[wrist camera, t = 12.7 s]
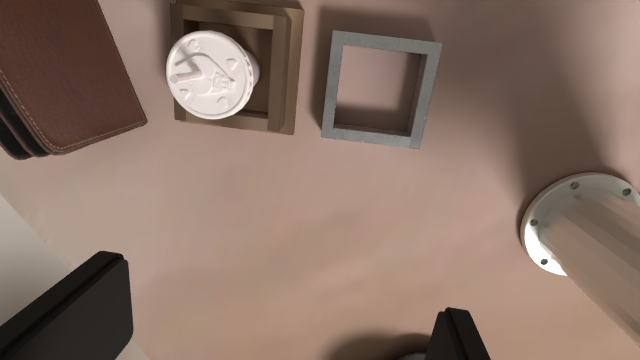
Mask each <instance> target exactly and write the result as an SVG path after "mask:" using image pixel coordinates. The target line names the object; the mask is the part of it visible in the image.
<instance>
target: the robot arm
mask: <svg viewBox="0 0 640 360" xmlns="http://www.w3.org/2000/svg"><path fill="white" fill-rule="evenodd" d="M520 238H521V242H522V246H523V248H524V250H525V252H526V253H527V255H528V256H529V257H530V258H531V259H532V261H533V262H534V263H536V264H537V265H538V266H539V267H541V268H542V269H544V270H546V271H548V272H551V273H554V274H558V275H566V276H568V277H569V278H570V279H571V280H572V281H573V282H574V283H575V284H576V285H577V286H578V287H579V288H580V289H581V290H582V291H583V292H584V293H585V294H586V295H587V296H588V297H589V298H590V299H591V300H593V301H594V302H595V303H596V304H597V305H598V306H599V307H600V308H601V309H602V310H603V311H604V312H605V313H606V314H607V315H608V316H609V317H610V318H611V319H612V320H613V321H614V322H615V323H616V324H617V325H618V326H619V327H620V328H621V329H622V330H623V331H624V332H625V333H626V334H627V335H628V336H629V337H630V338H631V339H632V340H633V341H634V342H635V343H636V344H637V345H638V346H639V347H640V194H639V193H638V192H637V190H636V189H635V188H634V187H633V186H631V185H630V184H629V183H627V182H626V181H624V180H622V179H620V178H618V177H615V176H612V175H609V174H606V173H598V172H588V173H580V174H575V175H571V176H568V177H566V178H563V179H560V180H558V181H557V182H555V183H553V184H551V185H550V186H548V187H547V188H546V189H544V190H543V191H542V192H541V193H539V194H538V196H537V197H536V198H535V199H534V200H533V201H532V202H531V204H530V205H529V207H528V208H527V210H526V212H525V214H524V217H523V219H522V223H521V228H520ZM132 334H133V318H132V305H131V293H130V281H129V268H128V262H127V260H125V259H124V257H123V255H122V254H119V253H113V252H107V251H99V252H98V253H96V254H95V255H93V256H92V257H91V258H90V259H88V260H87V261H86V262H84V263H83V264H82V265H80V266H79V267H78V268H76V269H75V270H74V271H72V272H71V273H70V274H69V275H67V276H66V277H65V278H64V279H62V280H61V281H59V282H58V283H57V284H55V285H54V286H53V287H51V288H50V289H49V290H48V291H46V292H45V293H44V294H42V295H41V296H40V297H38V298H37V299H36V300H34V301H33V302H32V303H30V304H29V305H28V306H27V307H25V308H24V309H23V310H21V311H20V312H19V313H17V314H16V315H15V316H13V317H12V318H11V319H9V320H8V321H7V322H6V323H4V324H3V325H2V326H0V360H115V359H116V358H117V356H118V355H119V354H120V353H121V351H122V350H123V349H124V348H125V346H126V345H127V344H128V342H129V341H130V339H131V337H132ZM424 360H491V359H490V357H489V355H488V352H487V350H486V348H485V346H484V344H483V341H482V339H481V337H480V335H479V332H478V330H477V328H476V326H475V323H474V321H473V319H472V317H471V314H470V313H469V311H467V310H462V309H456V308H449V307H448V308H446V309H445V311H444V312H442V311H440V312H439V313H438V315H437V319H436V322H435V325H434V329H433V332H432V335H431V339H430V342H429V345H428V349H427V352H426V355H425V359H424Z"/></svg>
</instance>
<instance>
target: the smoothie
mask: <svg viewBox="0 0 640 360" xmlns="http://www.w3.org/2000/svg"><path fill="white" fill-rule="evenodd" d="M260 73H261V70H260V65H259V62H258V60H257V59H256V57H255V56H254V55H252V54H251V53H249V52H248V51H246V50H244V49H242V47H241V46H240V45H239V44H238V43H237V42H235V41H234V40H233V39H232V38H230V37H228V36H226V35H224V34H222V33H220V32H215V31H210V30H209V31H196V32H192V33H189V34H187V35H185V36H183V37H182V38H181V39H179V40H178V41H177V42H176V43H175V45H174V46H173V47H172V49H171V51H170V53H169V56H168V59H167V64H166V76H167V81H168V85H169V88H170V90H171V92H172V94H173V96H174V97H175V99H176V100H177V101H178V103H179V104H180V105H181V106H182V107H183V108H185V109H186V110H187V111H188V112H190V113H192V114H194V115H196V116H198V117H201V118H205V119H221V118H225V117H228V116H230V115H233V114H235V113H236V112H238V111H239V110H240V109H242V108H243V107H244V105H245V104H246V103H247V101H248V100H249V98H250V95H251V93H252V90H253V87H254V86H255V84H256V83H257V82H258V80H259V78H260Z"/></svg>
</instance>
